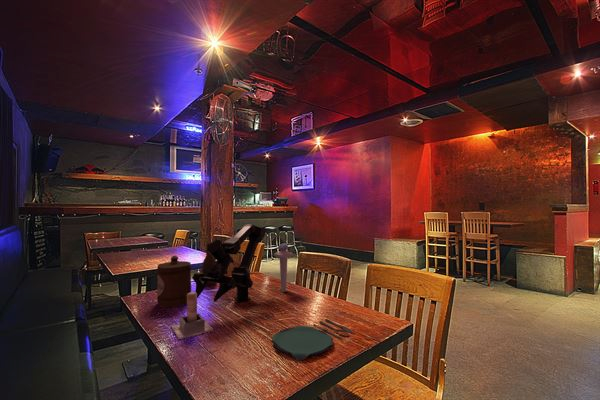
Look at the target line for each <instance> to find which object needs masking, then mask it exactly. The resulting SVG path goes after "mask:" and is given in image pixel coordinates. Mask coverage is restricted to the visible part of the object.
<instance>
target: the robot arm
mask: <svg viewBox="0 0 600 400" xmlns="http://www.w3.org/2000/svg"><path fill="white" fill-rule="evenodd" d="M265 236H266V230H265V228H264V227H260V226H256V225H255V224H250V223H249V224H248V223H246V224H244V225H243V227H242V228H241V229H240V230H239V231H238V232H237V233H236V234H235V235H234V236H233V237H230V238H228V239H226V240H224V241H223V242H222V241H221V240H220V239H215V241H213V242H210V243H211V244H210V245H209V246H208V248H207V247H206V250H208V252H209V253H210V254H211V256H212V257H213V258H214V259H215V260H216V263H215V264H204V265H203V264H202V268H201V272H202V273H201V272H195V273H194V274H192V275H193V276H191V280H193V281H194V283H195V291H194V292H196V293H197V299H198V298H199V297H200V295H201V294H202V293H203V292H204V290H205V288H206V287H207V286H205V285H206V284H207V282H211V283H216V284H218V285H219V286H218V289H217V291H216V292H215V295H214V297H213V302H214V303H215V302H217V301H218V300H219V299H220V298H222V297H223V296H224V295H225V294H226V293H228V292H229V291H232V290H235V289H236V296H235V297H233V299H234V300H235V301H237V302H238V303H241V302H245V301H246V302H247V301H251V300H252V298H251V297H250V296H249V289H251V288H252V287H253V284H254V283H253V282H254V281H253V279H252V278H251V272H250V268H251V264H252V262H253V258H254V257H255V253H256V251H257V247H258V245H259V244H260V243H262V241H263V240H264V238H265ZM247 239H248V242H247V245H246V248H245V250H244V253H243V255H242V258H241V260H240V262H241V263H240V266H239V267H235V268H234V270H233V273H232V276H231V275H230V276H228V273H229V272H228V271H227V270H228V268H229V266H230V264H232V263H234V260H235V259H234V258H233V256H232V255H237V254H238V253H239V252H240V250H241V247H242V246H241V245H242V244H243V243H244V242H245V241H246V240H247ZM233 259H234V260H233ZM203 272H206V275H207V276H209V277H205V276H204V274H203Z"/></svg>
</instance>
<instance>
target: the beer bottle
mask: <svg viewBox="0 0 600 400" xmlns="http://www.w3.org/2000/svg"><path fill="white" fill-rule="evenodd" d="M211 243H212V242H207V243H206V244H205V245H206V250H205V251H206V254H205V258H204V259H203V261H202V266H203V265H204V264H215V263H216V261H217V260H215V259H214V258H213V257H212V256H211V254H210V253H209V252H208V250H207V248H208V246H209V245H210V244H211ZM202 274H204V276H205V277H209V276H207V275H206V272H202ZM216 284H217V283H211V282H207V284H206V285H205V286H206V287H212V286H216Z"/></svg>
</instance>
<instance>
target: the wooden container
mask: <svg viewBox="0 0 600 400" xmlns="http://www.w3.org/2000/svg"><path fill="white" fill-rule="evenodd" d="M191 264H192V263H191V261H182V260H180V261H179V256H177V255H173V256H171V257H170V261H168V262H162V263H160V264H157V277H156V278H157V283H156V284H157V285H156V287H157V289H156V290H157V291H156V292H157V299H156V301H157V303H158V304H157V306H158V305H159V306H158V307H160V306H162V307H161V308H165V307H170V308H177V307H181V306H185V305H187V294H188V293H191V292H192V272H191V270H192V269H191V268H192V267H191V266H192V265H191Z"/></svg>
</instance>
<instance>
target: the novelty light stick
mask: <svg viewBox="0 0 600 400" xmlns="http://www.w3.org/2000/svg"><path fill="white" fill-rule="evenodd" d="M277 248H278V250H279V251H277V252H274V253H273V256H274V257H275V258H278V259H279V272H280V273H279V275H280V291H281V292H282V293H285V292H287V280H288V279H287V275H288V274H287V273H288V259H289V258H292V257H293V256H294V253H293V252H291V251H288V249H289V246H288V244H286V243H281V244H279V245H278V246H277Z"/></svg>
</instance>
